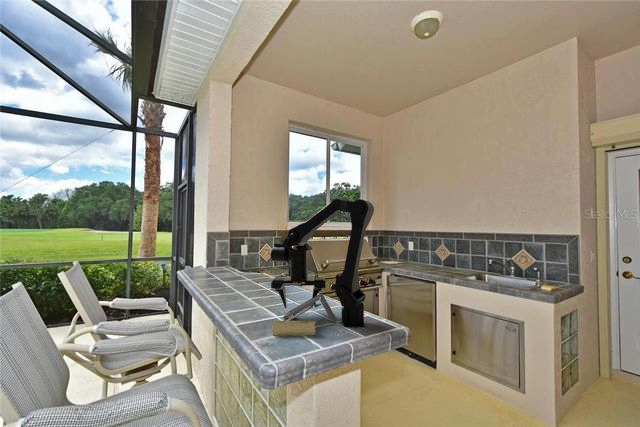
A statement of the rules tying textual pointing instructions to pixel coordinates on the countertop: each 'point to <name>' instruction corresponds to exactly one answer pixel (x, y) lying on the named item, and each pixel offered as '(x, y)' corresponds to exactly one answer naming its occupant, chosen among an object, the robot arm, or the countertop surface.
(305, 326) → the tan wooden block
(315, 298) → the bracket
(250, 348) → the countertop surface
